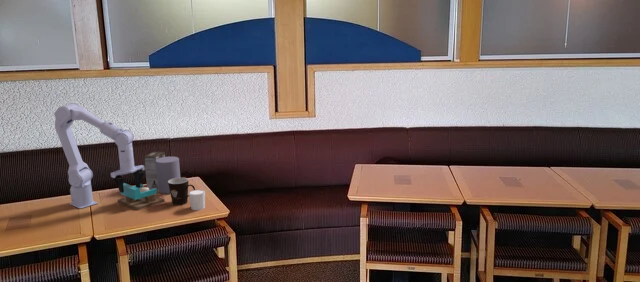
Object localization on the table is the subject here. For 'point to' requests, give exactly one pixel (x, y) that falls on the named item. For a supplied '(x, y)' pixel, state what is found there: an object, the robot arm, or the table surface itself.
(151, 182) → the coffee box
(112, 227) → the table surface
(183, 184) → the coffee mug
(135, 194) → the teal c-shaped bracket
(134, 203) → the stand
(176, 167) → the container
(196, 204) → the white cylinder
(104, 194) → the table surface
